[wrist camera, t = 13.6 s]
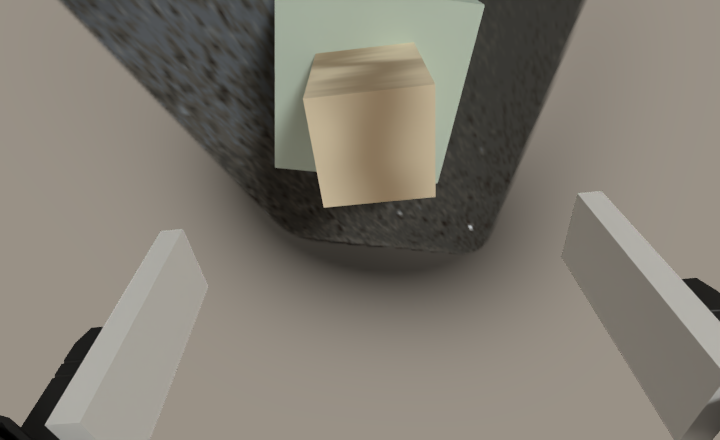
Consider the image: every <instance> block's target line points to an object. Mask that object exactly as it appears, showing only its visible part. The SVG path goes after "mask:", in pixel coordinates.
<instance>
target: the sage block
mask: <svg viewBox="0 0 720 440" xmlns="http://www.w3.org/2000/svg"><path fill="white" fill-rule="evenodd" d="M484 6H485V5H484V4H482V3H481V2H479V1H478V0H275V168H283V169H293V170H303V171H314V172H317V170H316V165H315V160H314V154H313V149H312V144H311V139H310V134H309V128H308V123H307V118H306V113H305V107H304V102H303V97H304V93H305V90H306V86H307V82H308V79H309V75H310V72H311V68H312V65H313V61H314V57H315V54H316V53H325V52H334V51H342V50H351V49H359V48H368V47H376V46H385V45H393V44H402V43H411V42H414V43H415V45H416V47H417V49H418V51H419V53H420V55H421V57H422V59H423V61H424V63H425V65H426V67H427V69H428V71H429V73H430V75H431V77H432V79H433V81H434V82H435V183H438V180H439V176H440V172H441V168H442V165H443V161H444V157H445V153H446V149H447V146H448V142H449V138H450V134H451V131H452V127H453V123H454V119H455V115H456V112H457V108H458V104H459V100H460V97H461V93H462V89H463V85H464V82H465V78H466V74H467V70H468V66H469V63H470V59H471V55H472V51H473V48H474V44H475V40H476V36H477V32H478V29H479V25H480V21H481V17H482V14H483V10H484Z"/></svg>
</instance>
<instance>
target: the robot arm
mask: <svg viewBox="0 0 720 440" xmlns="http://www.w3.org/2000/svg"><path fill="white" fill-rule="evenodd" d="M561 257H562V259H563V261H564V262H565V264H566V265H567V267H568V269H569V270H570V272H571V273H572V275H573V277H574V278H575V280H576V281H577V283H578V285H579V286H580V288H581V290H582V291H583V293H584V295H585V296H586V298H587V299H588V301H589V303H590V304H591V306H592V308H593V309H594V311H595V312H596V314H597V316H598V317H599V319H600V321H601V322H602V324H603V325H604V327H605V329H606V330H607V332H608V334H609V335H610V337H611V338H612V340H613V342H614V343H615V345H616V346H617V348H618V350H619V351H620V353H621V355H622V356H623V358H624V359H625V361H626V363H627V364H628V366H629V367H630V369H631V371H632V372H633V374H634V376H635V377H636V379H637V381H638V382H639V384H640V385H641V387H642V389H643V390H644V392H645V393H646V395H647V397H648V398H649V400H650V402H651V403H652V405H653V406H654V408H655V410H656V411H657V413H658V415H659V416H660V418H661V419H662V421H663V423H664V424H665V426H666V427H667V429H668V431H669V432H670V434H671V436H672V437H673V439H674V440H713V438H714V437H715V436H716V435H717V434H718V432H719V431H720V293H719V292H718V291H716V290H715V289H713V288H712V287H710V286H708V285H706V284H705V283H704V282H702V281H700V280H699V279H697V278H690V279H681V278H680V277H679V276H678V275H677V274H676V273H675V272H674V271H673V269H671V267H670V266H669V265H668V264H667V263H666V262H665V261H664V260H663V258H662V257H661V256H660V255H659V254H658V253H657V252H656V251H655V250H654V249H653V248H652V246H651V245H650V244H649V243H648V242H647V241H646V240H645V239H644V238H643V236H642V235H641V234H640V233H639V232H638V231H637V230H636V229H635V228H634V227H633V226H632V224H631V223H630V222H629V221H628V220H627V219H626V218H625V217H624V216H623V214H622V213H621V212H620V211H619V210H618V209H617V208H616V207H615V206H614V205H613V203H612V202H611V201H610V200H609V199H608V198H607V197H606V196H605V195H604V194H603V192H602V191H598V192H588V193H577V197H576V201H575V205H574V209H573V212H572V216H571V221H570V224H569V228H568V232H567V236H566V240H565V244H564V248H563V252H562V256H561ZM207 289H208V284H207V282H206V280H205V278H204V275H203V273H202V271H201V269H200V266H199V264H198V262H197V260H196V258H195V255H194V253H193V251H192V248H191V246H190V244H189V242H188V239H187V237H186V235H185V233H184V230H183V229H178V230H167V231H161V232H160V233H159V235H158V237H157V238H156V240H155V242H154V243H153V245H152V247H151V248H150V250H149V252H148V253H147V255H146V257H145V258H144V260H143V262H142V263H141V265H140V267H139V268H138V270H137V272H136V273H135V275H134V277H133V278H132V280H131V282H130V283H129V285H128V287H127V288H126V290H125V292H124V293H123V295H122V297H121V298H120V300H119V302H118V303H117V305H116V307H115V308H114V310H113V312H112V314H111V315H110V317H109V318H108V320H107V322H106V323H105V325H104V327H97V328H91V329H90V330H89V331H88V332H87V333H86V334H84V336H82V338H80V339H79V340H78V341H77V342H76V343H75V344H74V346H73V347H72V349H71V350H70V352H69V354H68V355H67V357H66V358H65V360H64V364H61V366H60V368H59V369H58V371H57V372H56V374H55V378H53V379H52V380H51V382H50V383H49V385H48V386H47V388H46V389H45V391H44V392H43V394H42V395H41V397H40V399H39V400H38V402H37V403H36V405H35V407H34V408H33V410H32V411H31V413H30V414H29V416H28V417H27V419H26V420H25V422H24V423H23V425H22V427H19V426H18V425H17V424H16V423H15V422H14V421H12V420H11V419H10V418H8V417H4V416H0V440H150V438H151V436H152V433H153V430H154V427H155V425H156V422H157V420H158V417H159V415H160V412H161V409H162V407H163V404H164V402H165V399H166V396H167V394H168V391H169V388H170V386H171V383H172V381H173V378H174V375H175V372H176V370H177V367H178V365H179V362H180V359H181V357H182V354H183V351H184V349H185V346H186V344H187V341H188V339H189V336H190V333H191V331H192V328H193V326H194V323H195V320H196V318H197V315H198V312H199V310H200V307H201V305H202V302H203V299H204V297H205V294H206V291H207Z"/></svg>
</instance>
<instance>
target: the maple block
mask: <svg viewBox="0 0 720 440" xmlns="http://www.w3.org/2000/svg"><path fill="white" fill-rule="evenodd" d="M303 102H304V107H305V113H306V118H307V123H308V128H309V134H310V139H311V144H312V149H313V154H314V160H315V165H316V170H317V175H318V181H319V186H320V191H321V196H322V202H323V207H324V208H326V207H336V206H346V205H356V204H367V203H377V202H387V201H398V200H408V199H418V198H428V197H435V82H434V81H433V79H432V77H431V75H430V73H429V71H428V69H427V67H426V65H425V63H424V61H423V59H422V57H421V55H420V53H419V51H418V49H417V47H416V45H415V43H414V42H411V43H402V44H393V45H385V46H376V47H368V48H359V49H351V50H342V51H334V52H325V53H316V54H315V57H314V61H313V65H312V68H311V72H310V75H309V79H308V82H307V86H306V90H305V93H304V97H303Z"/></svg>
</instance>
